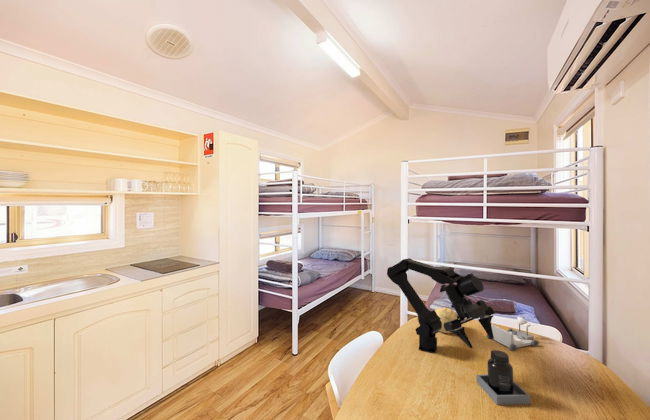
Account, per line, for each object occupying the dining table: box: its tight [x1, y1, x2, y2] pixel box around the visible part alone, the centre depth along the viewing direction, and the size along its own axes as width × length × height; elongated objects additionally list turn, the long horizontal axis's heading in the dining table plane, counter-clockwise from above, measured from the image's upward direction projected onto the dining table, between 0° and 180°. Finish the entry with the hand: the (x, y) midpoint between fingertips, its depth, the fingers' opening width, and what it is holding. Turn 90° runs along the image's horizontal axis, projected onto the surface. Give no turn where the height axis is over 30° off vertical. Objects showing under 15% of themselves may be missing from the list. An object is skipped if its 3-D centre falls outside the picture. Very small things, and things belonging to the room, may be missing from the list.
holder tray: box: [476, 374, 531, 406], centre depth 83 cm, size 10×10×2 cm
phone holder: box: [486, 316, 539, 352], centre depth 114 cm, size 18×10×12 cm
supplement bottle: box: [486, 349, 514, 395], centre depth 82 cm, size 7×7×12 cm
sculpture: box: [434, 306, 459, 334], centre depth 125 cm, size 12×12×11 cm
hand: (482, 343), depth 91 cm, fingers open, 9 cm apart
